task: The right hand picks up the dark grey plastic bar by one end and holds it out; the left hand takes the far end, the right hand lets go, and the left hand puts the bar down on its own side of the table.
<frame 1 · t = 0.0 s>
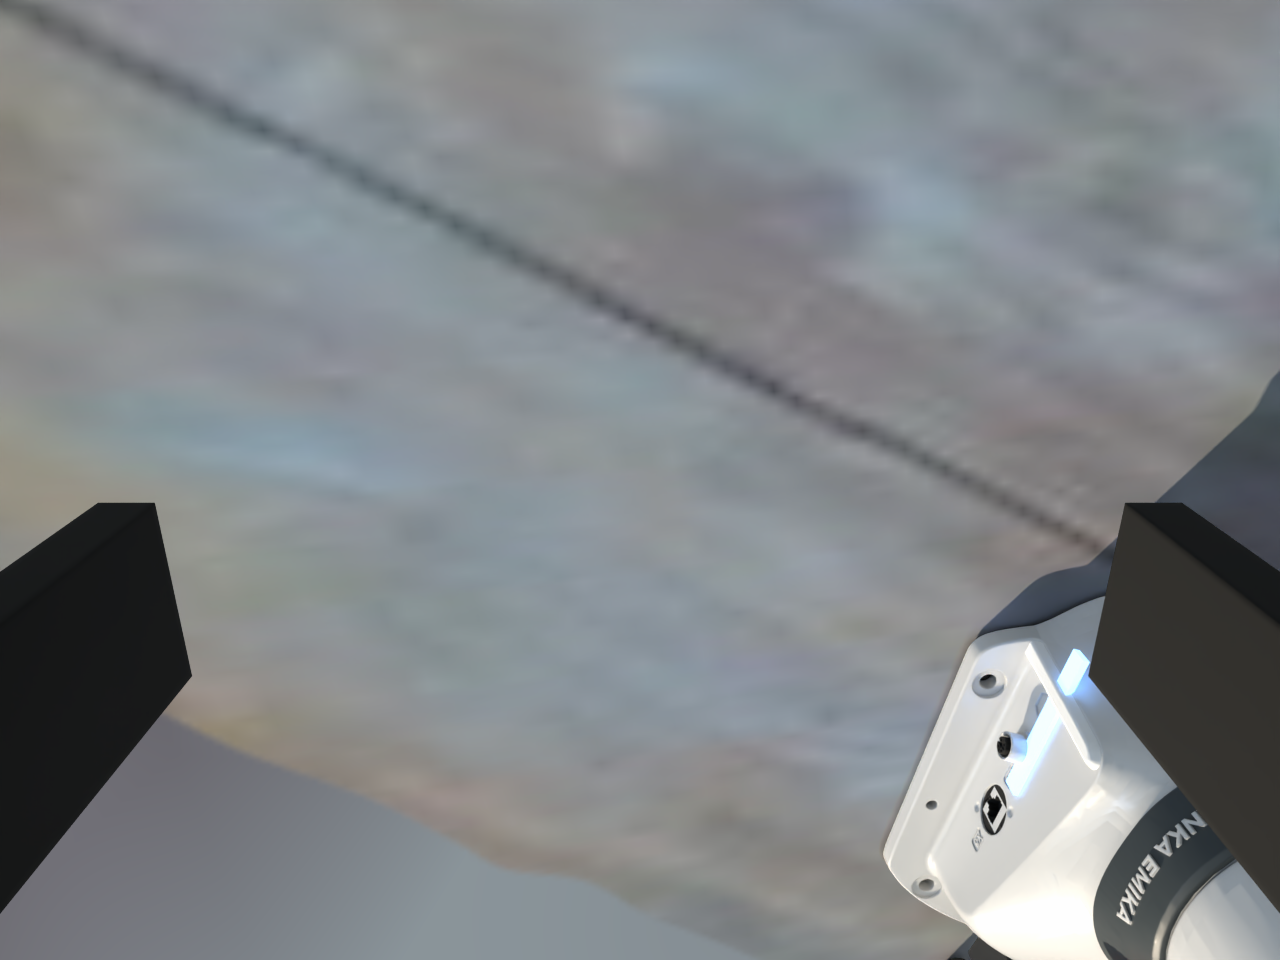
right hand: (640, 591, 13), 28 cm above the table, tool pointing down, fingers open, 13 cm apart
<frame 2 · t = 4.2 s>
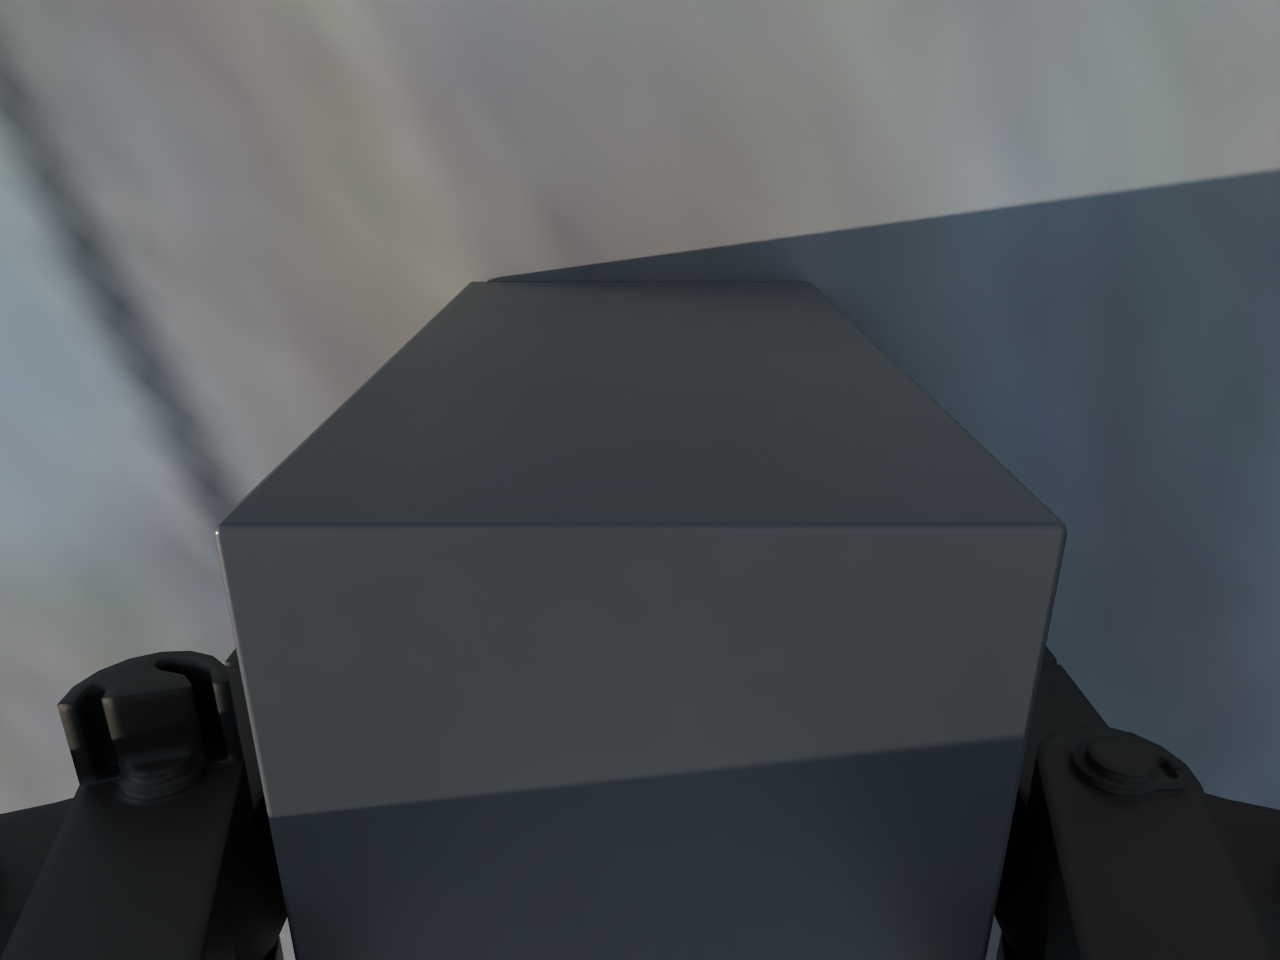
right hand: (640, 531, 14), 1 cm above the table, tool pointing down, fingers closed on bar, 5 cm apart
bar: (640, 923, 18), on the table, touching right hand
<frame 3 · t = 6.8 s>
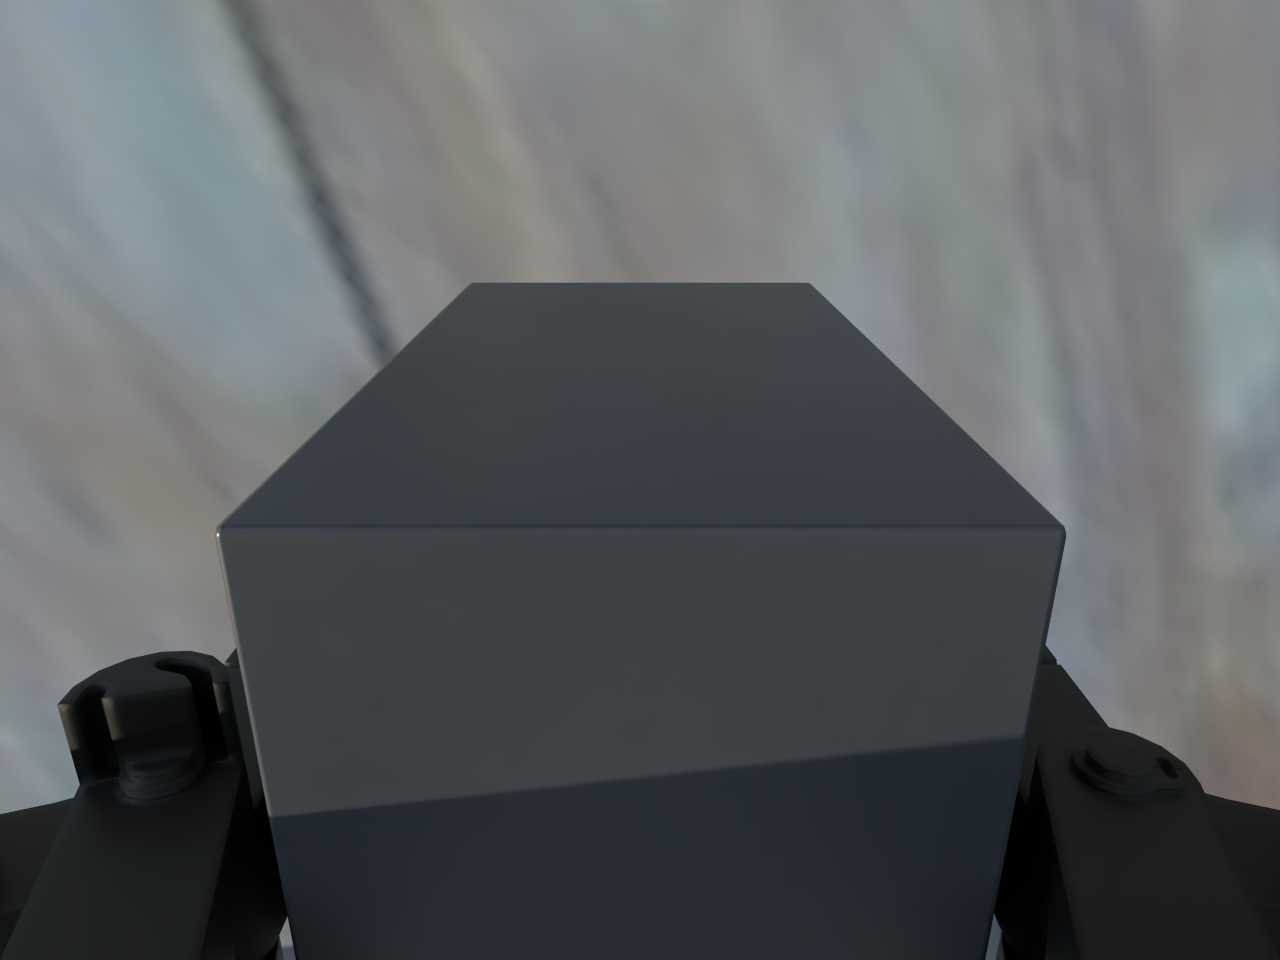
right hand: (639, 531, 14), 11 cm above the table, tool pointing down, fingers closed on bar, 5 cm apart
bar: (640, 924, 18), point 10 cm above the table, touching right hand
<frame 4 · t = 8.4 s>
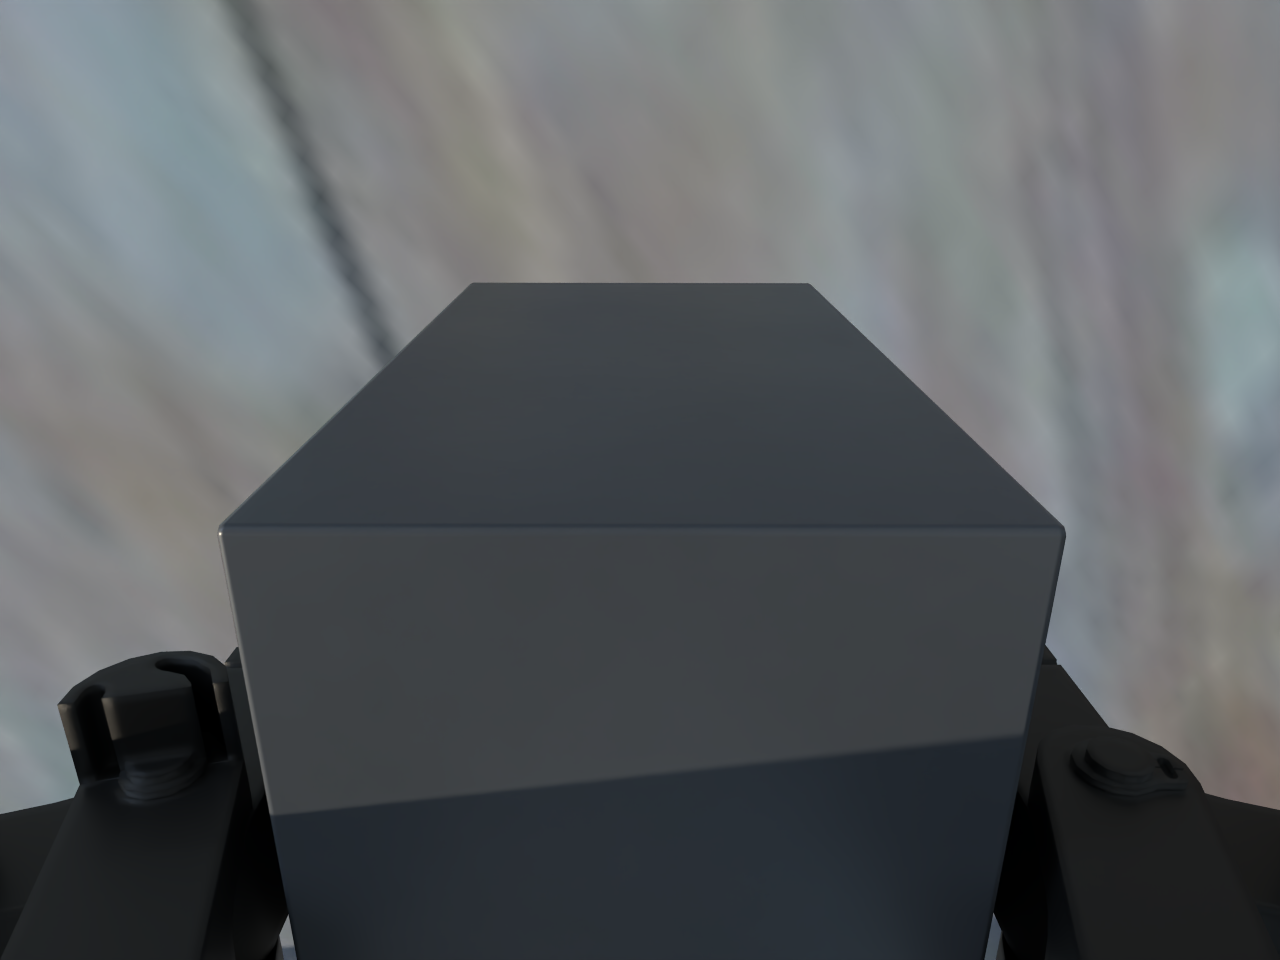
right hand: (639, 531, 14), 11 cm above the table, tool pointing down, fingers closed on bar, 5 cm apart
bar: (639, 924, 18), point 10 cm above the table, touching right hand, left hand
when the right hand's fingers open (11 cm above the table, at t = 9.4 s): bar stays where it is, held by the left hand.
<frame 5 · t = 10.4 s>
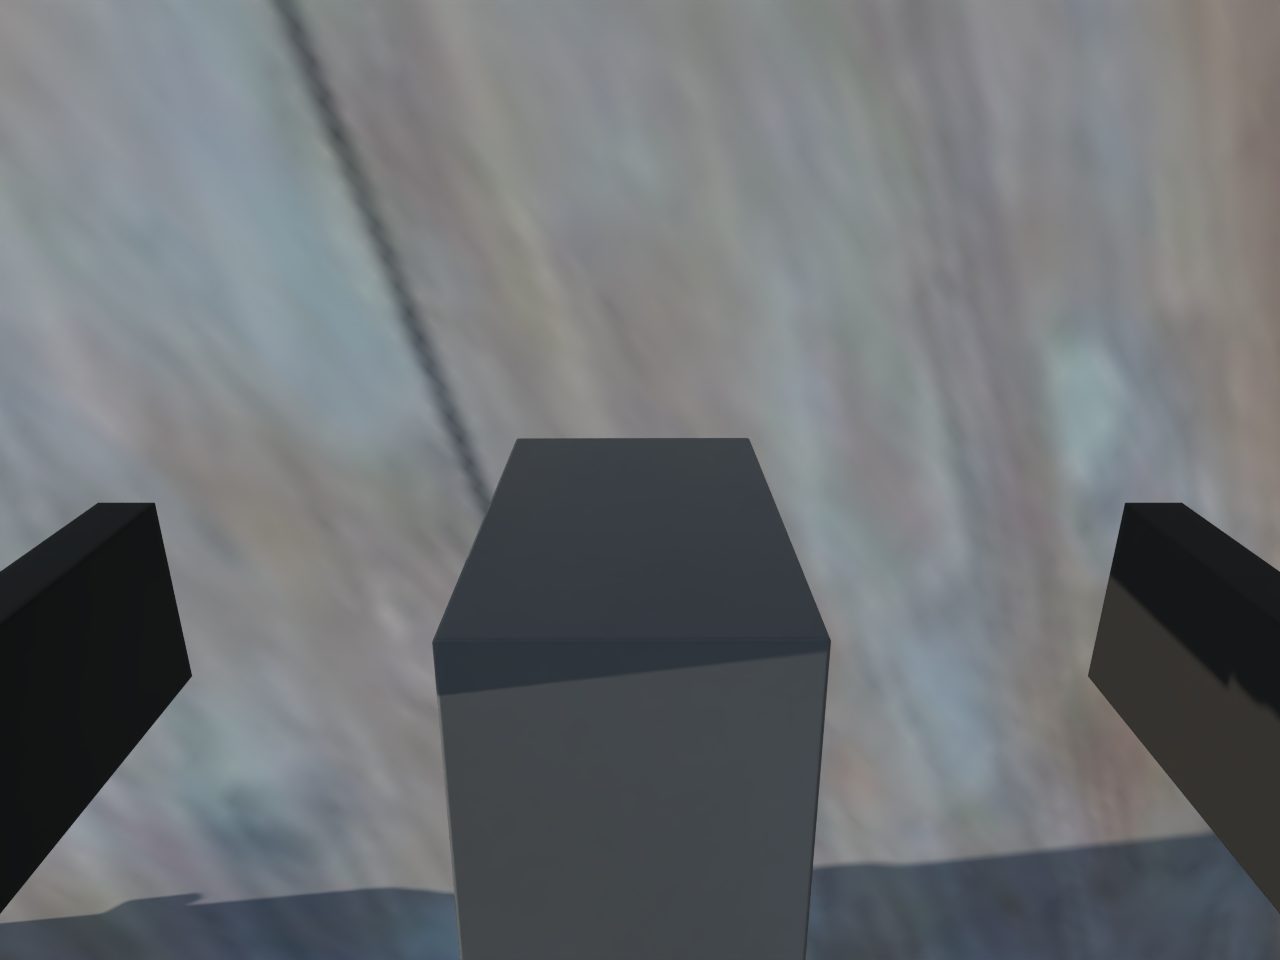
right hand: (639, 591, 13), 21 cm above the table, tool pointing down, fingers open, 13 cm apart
bar: (634, 898, 24), point 13 cm above the table, touching left hand
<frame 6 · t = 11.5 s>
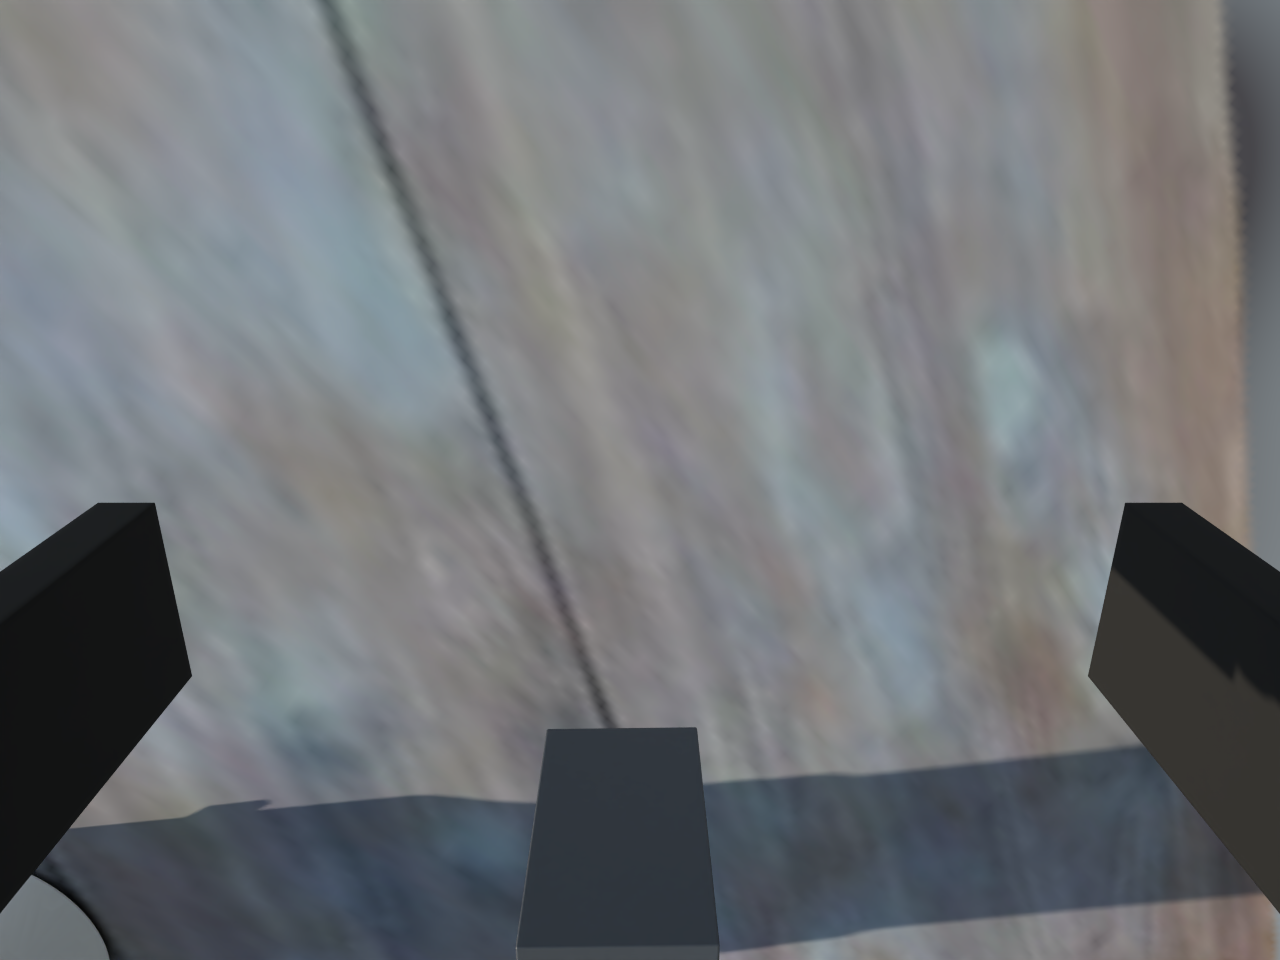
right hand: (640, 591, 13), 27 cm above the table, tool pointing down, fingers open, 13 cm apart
when the left hand's fingers open (4 cm above the table, at t = 14.9 s): bar stays where it is, on the table.
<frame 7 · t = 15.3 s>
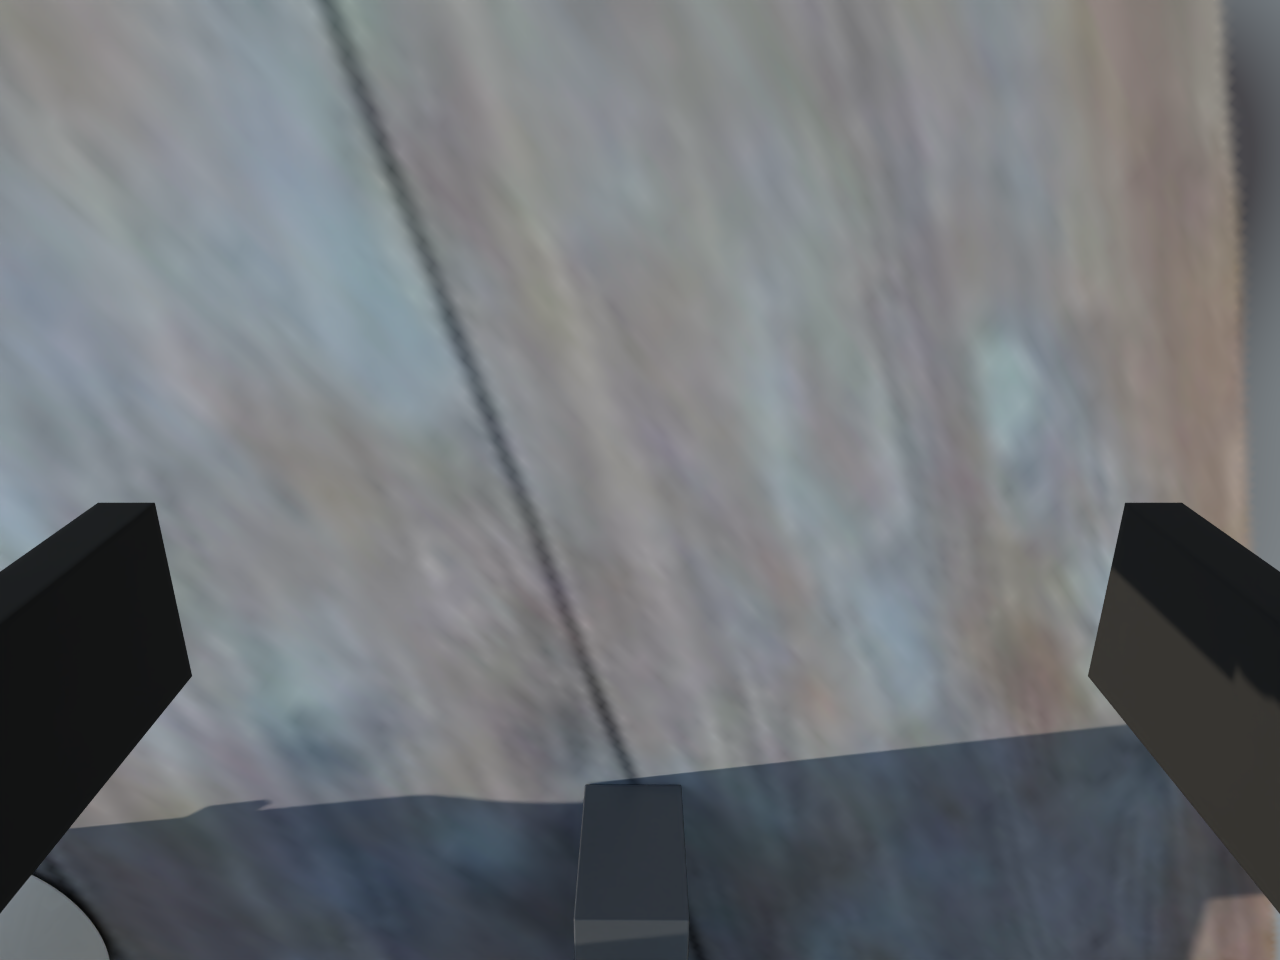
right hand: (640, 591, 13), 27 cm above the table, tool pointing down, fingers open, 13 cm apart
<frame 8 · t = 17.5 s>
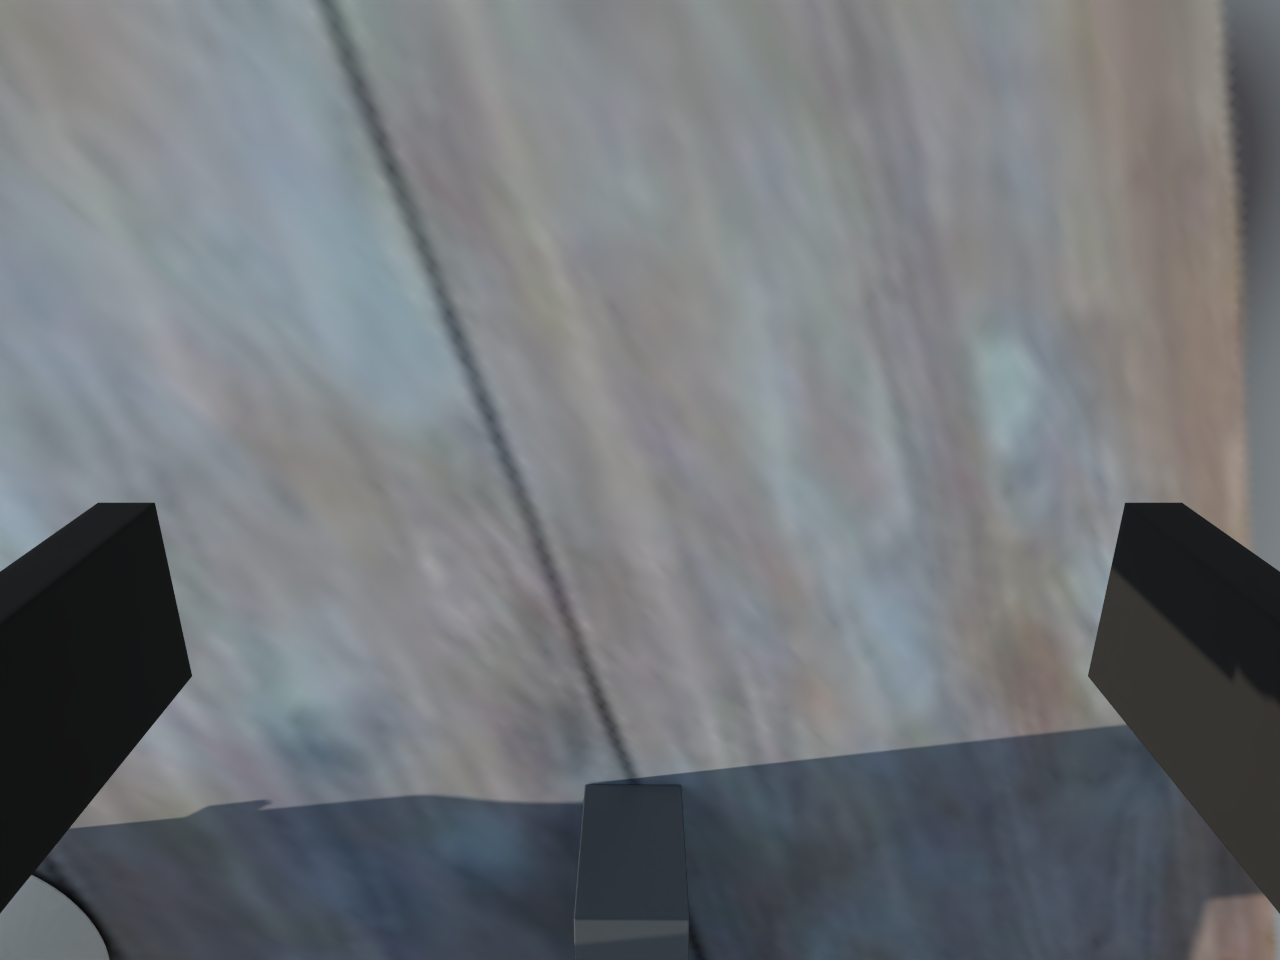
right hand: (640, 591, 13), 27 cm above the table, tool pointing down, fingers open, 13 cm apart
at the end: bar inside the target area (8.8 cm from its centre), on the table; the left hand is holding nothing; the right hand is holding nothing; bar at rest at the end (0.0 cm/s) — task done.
